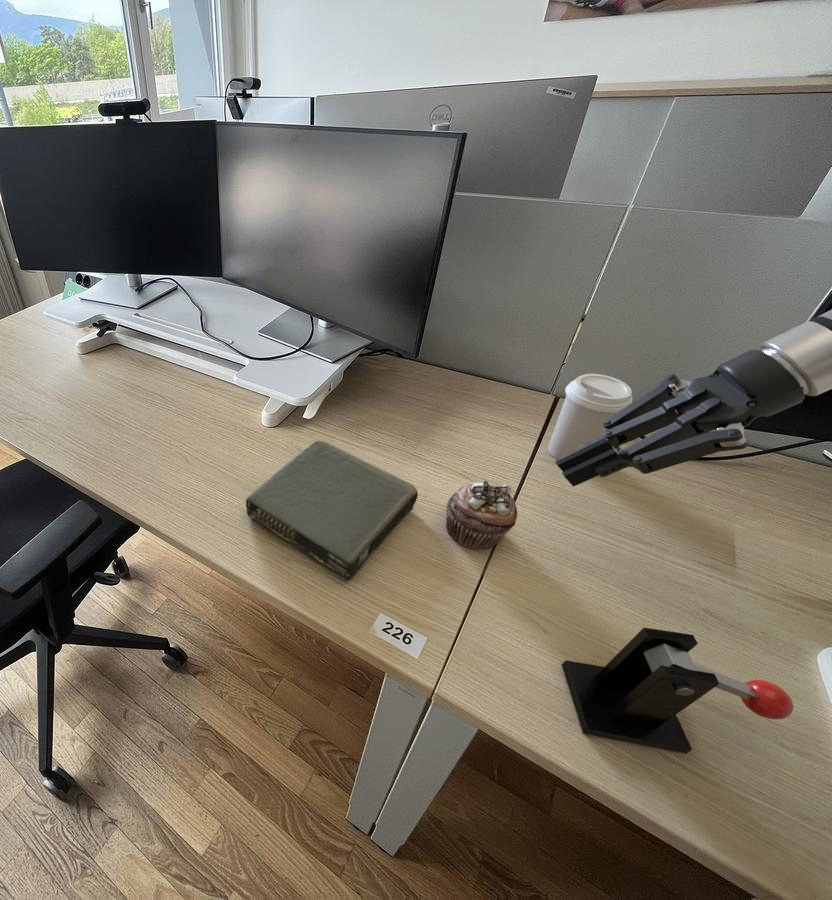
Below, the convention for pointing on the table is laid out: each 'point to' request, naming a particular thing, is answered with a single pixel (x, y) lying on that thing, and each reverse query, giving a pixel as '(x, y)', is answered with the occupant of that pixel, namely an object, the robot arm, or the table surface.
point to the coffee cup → (587, 411)
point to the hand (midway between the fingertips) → (564, 474)
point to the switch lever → (729, 683)
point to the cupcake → (480, 515)
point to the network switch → (332, 506)
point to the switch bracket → (638, 693)
